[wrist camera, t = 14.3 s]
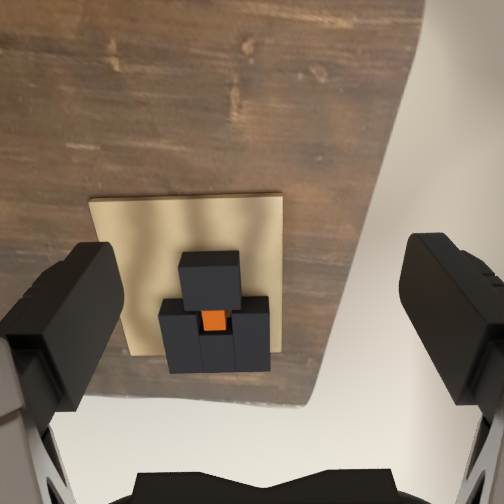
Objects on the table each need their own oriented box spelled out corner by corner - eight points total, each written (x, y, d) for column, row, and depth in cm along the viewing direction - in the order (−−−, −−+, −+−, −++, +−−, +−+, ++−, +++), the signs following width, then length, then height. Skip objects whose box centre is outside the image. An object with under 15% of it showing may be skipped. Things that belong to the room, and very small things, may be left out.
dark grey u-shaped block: (268, 295, 42) (269, 313, 40) (269, 352, 47) (270, 371, 44) (163, 298, 43) (157, 315, 40) (174, 355, 47) (169, 373, 45)
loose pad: (239, 249, 39) (238, 265, 37) (242, 311, 44) (242, 329, 41) (182, 251, 39) (177, 267, 37) (191, 313, 44) (187, 331, 41)
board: (282, 192, 37) (283, 196, 36) (280, 346, 48) (281, 352, 47) (91, 198, 37) (87, 202, 36) (133, 350, 48) (130, 355, 47)
